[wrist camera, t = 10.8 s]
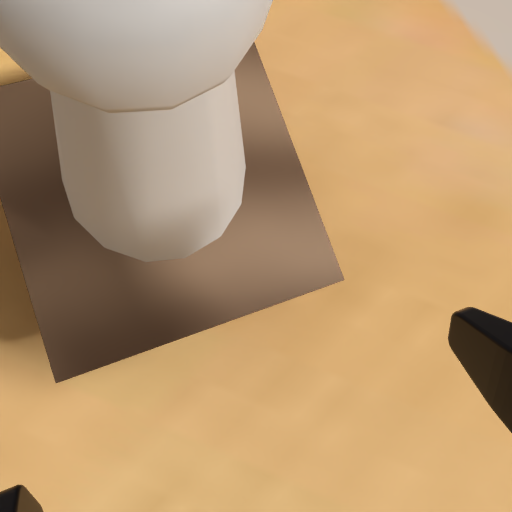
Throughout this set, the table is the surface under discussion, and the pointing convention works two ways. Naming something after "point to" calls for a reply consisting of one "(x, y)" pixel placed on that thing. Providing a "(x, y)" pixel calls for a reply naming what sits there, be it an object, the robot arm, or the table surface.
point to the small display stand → (166, 271)
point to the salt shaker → (142, 112)
